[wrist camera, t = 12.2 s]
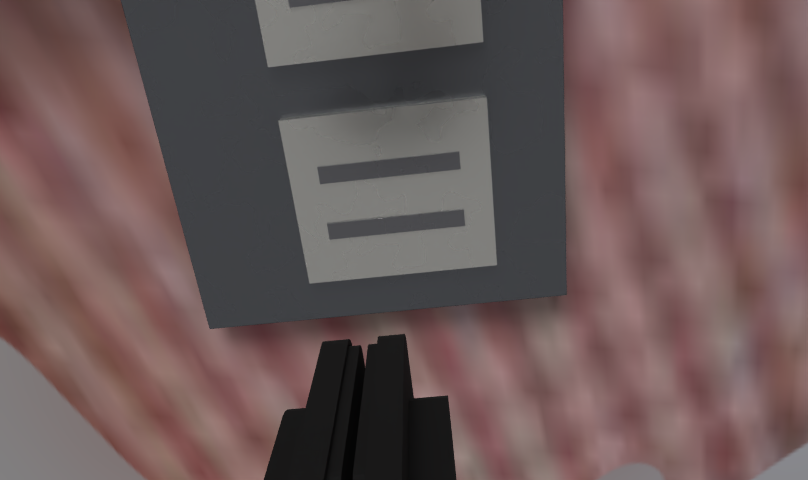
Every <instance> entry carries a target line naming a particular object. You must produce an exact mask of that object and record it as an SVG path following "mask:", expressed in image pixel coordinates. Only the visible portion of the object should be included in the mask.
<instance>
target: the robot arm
mask: <svg viewBox="0 0 808 480" xmlns="http://www.w3.org/2000/svg"><path fill="white" fill-rule="evenodd" d="M264 480H456V471H455V460H454V450H453V440H452V430H451V421H450V411H449V402H448V396H437V397H426V398H414V396H413V388H412V381H411V373H410V365H409V358H408V350H407V342H406V336H405V334H400V335H389V336H379V337H378V341H377V344H369V345H368V350H367V359H366V367H365V364H364V358H363V352H362V348H361V346H360V345H358V346H352V343H351V340H350V339H346V340H336V341H325V342H322V345H321V349H320V353H319V357H318V361H317V365H316V369H315V373H314V377H313V381H312V385H311V389H310V393H309V397H308V401H307V405H306V408H300V409H289V410H286V411H285V413H284V415H283V417H282V421H281V424H280V427H279V431H278V434H277V437H276V441H275V444H274V447H273V451H272V454H271V457H270V461H269V464H268V467H267V471H266V474H265V477H264Z"/></svg>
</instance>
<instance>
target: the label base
mask: <svg viewBox="0 0 808 480" xmlns="http://www.w3.org/2000/svg"><path fill="white" fill-rule="evenodd" d="M121 3H122V6H123V10H124V14H125V17H126V21H127V25H128V29H129V32H130V36H131V40H132V43H133V47H134V51H135V54H136V58H137V62H138V66H139V69H140V73H141V77H142V80H143V84H144V88H145V91H146V95H147V99H148V103H149V106H150V110H151V114H152V117H153V121H154V125H155V128H156V132H157V136H158V140H159V143H160V147H161V151H162V154H163V158H164V162H165V165H166V169H167V173H168V177H169V180H170V184H171V188H172V191H173V195H174V199H175V202H176V206H177V210H178V214H179V217H180V221H181V225H182V228H183V232H184V236H185V239H186V243H187V247H188V251H189V254H190V258H191V262H192V265H193V269H194V273H195V276H196V280H197V284H198V288H199V291H200V295H201V299H202V302H203V306H204V310H205V313H206V317H207V321H208V325H209V328H210V329H214V328H225V327H235V326H246V325H256V324H267V323H277V322H288V321H298V320H309V319H319V318H330V317H340V316H351V315H361V314H372V313H382V312H393V311H403V310H414V309H424V308H435V307H445V306H456V305H466V304H477V303H487V302H498V301H508V300H519V299H529V298H540V297H550V296H561V295H567V285H566V211H565V136H564V61H563V0H121Z"/></svg>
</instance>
